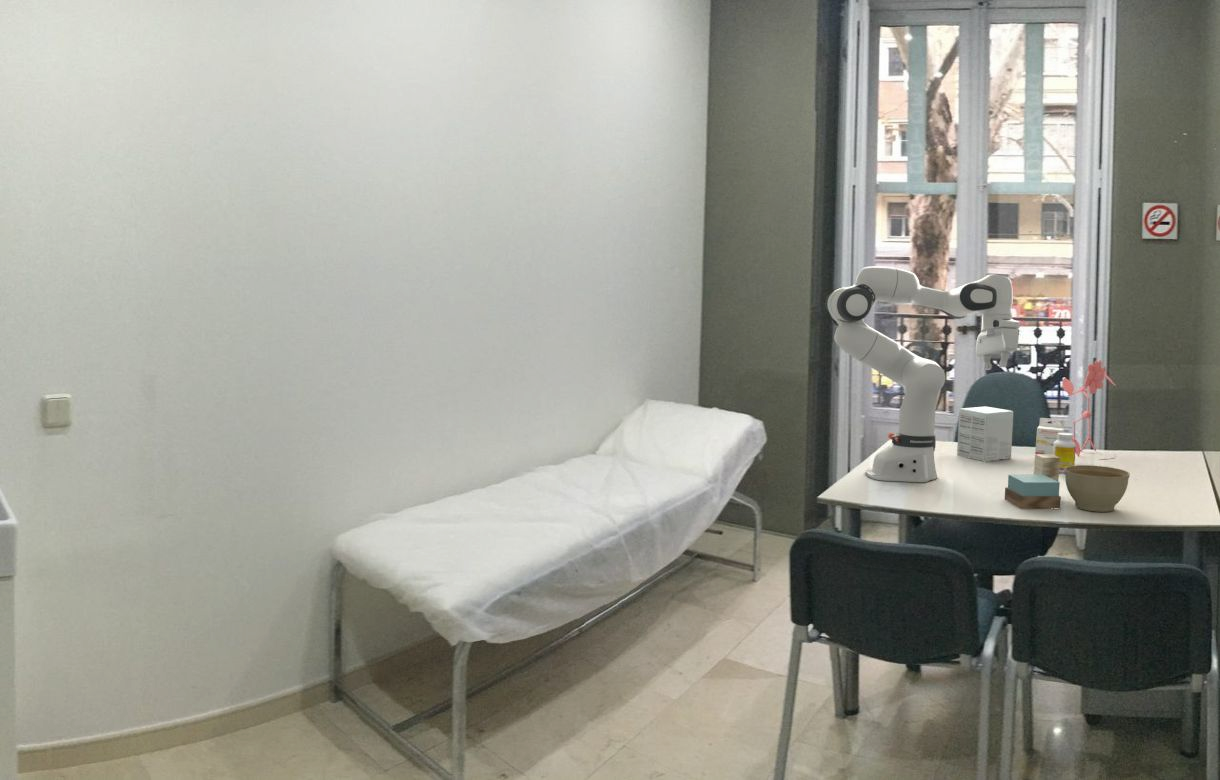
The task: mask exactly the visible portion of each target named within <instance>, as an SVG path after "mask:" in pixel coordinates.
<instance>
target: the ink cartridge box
mask: <svg viewBox="0 0 1220 780" xmlns="http://www.w3.org/2000/svg"><path fill="white" fill-rule="evenodd" d="M1049 422H1054V423H1049ZM1058 433H1065V420H1064V419H1061V418H1059V419H1058V418H1047V417H1040V418H1039V423H1038V427H1036V439H1035V449H1034V450H1035V452H1034V454H1052V455H1053V445H1054V442H1055V441H1056V440H1058V438H1057V434H1058Z"/></svg>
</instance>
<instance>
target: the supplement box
mask: <svg viewBox="0 0 1220 780" xmlns="http://www.w3.org/2000/svg"><path fill="white" fill-rule="evenodd" d="M1013 427H1014V411H1013V410H1010V409H1003V408H997V407H992V406H991V407H990V406H986V405H985V406H977V407H974V406H973V407H965V408H964V407H962V408H959V411H958V430H957V446H956V447H957V449H956V455H957V456H959V455H961V456H960V457H963V456H965V457H964V458H967V457H969V458H968V459H971V458H973V459H972V460H975V459H977V460H976V461H979V460H981V461H980V462H983V461H986V462H991V461H990V460H994V461H1000V460H999V459H1003V460H1008V458H1011V459H1012V446H1013V445H1012V444H1013V430H1014V428H1013Z"/></svg>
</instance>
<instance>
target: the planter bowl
mask: <svg viewBox="0 0 1220 780" xmlns="http://www.w3.org/2000/svg"><path fill="white" fill-rule="evenodd" d="M1064 471H1065V473H1064V479H1065V485H1066V488H1067V491H1068V493H1069V495H1070V497H1071V498H1072V500H1073V501H1074V502H1075V507H1076V508H1078V509H1080V510H1084V511H1089V512H1097V513H1099V512H1101V513H1102V512H1103V513H1104V512H1105V513H1107V512H1108V513H1109V512H1113V511H1115V508H1116V505H1117V504H1118V503H1119V502H1120V501H1121V500H1122V498H1123V497H1124V496H1125V493H1126V490H1127V488H1128V484H1129V479H1130V476H1131V475H1130V472H1129V471H1127V470H1125V469H1120V468H1116V467H1111V466H1103V465H1102V466H1101V465H1092V464H1091V465H1089V464H1088V465H1087V464H1081V465H1080V464H1076V465H1074V466H1068V467H1066V468H1065V469H1064Z"/></svg>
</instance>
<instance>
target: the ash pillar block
mask: <svg viewBox="0 0 1220 780" xmlns="http://www.w3.org/2000/svg"><path fill="white" fill-rule="evenodd" d="M1034 454H1035V453H1034ZM1059 465H1060V458H1059V457H1057V456H1055V455H1052V454H1035V455H1034V465H1033V466H1034V468H1033V470H1034V471H1033V475H1035V474H1043V475H1045V476H1047V477H1049V478H1051V479H1054V480H1056V481H1058V482H1060V481H1059V477H1060V473H1059Z"/></svg>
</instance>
